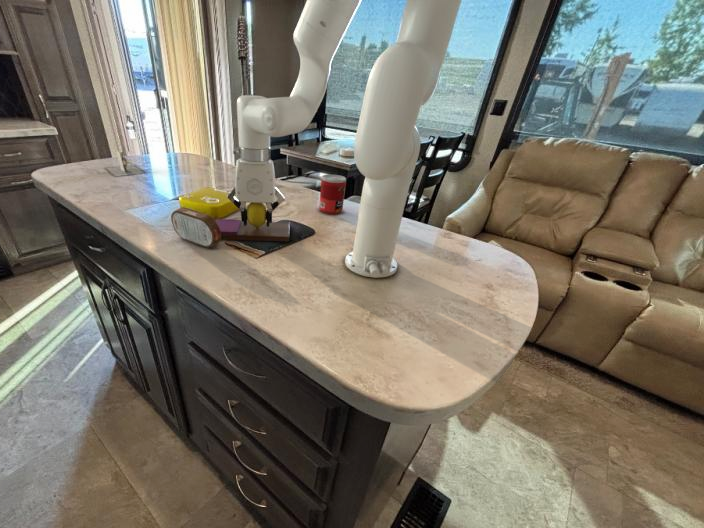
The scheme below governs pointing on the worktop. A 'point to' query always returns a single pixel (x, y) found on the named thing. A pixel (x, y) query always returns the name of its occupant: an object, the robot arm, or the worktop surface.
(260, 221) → the lemon
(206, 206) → the element tile
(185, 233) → the tin
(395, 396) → the worktop surface
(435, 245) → the worktop surface
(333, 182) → the canned food
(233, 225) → the plum cloth
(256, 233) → the serving board
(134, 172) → the architectural model
